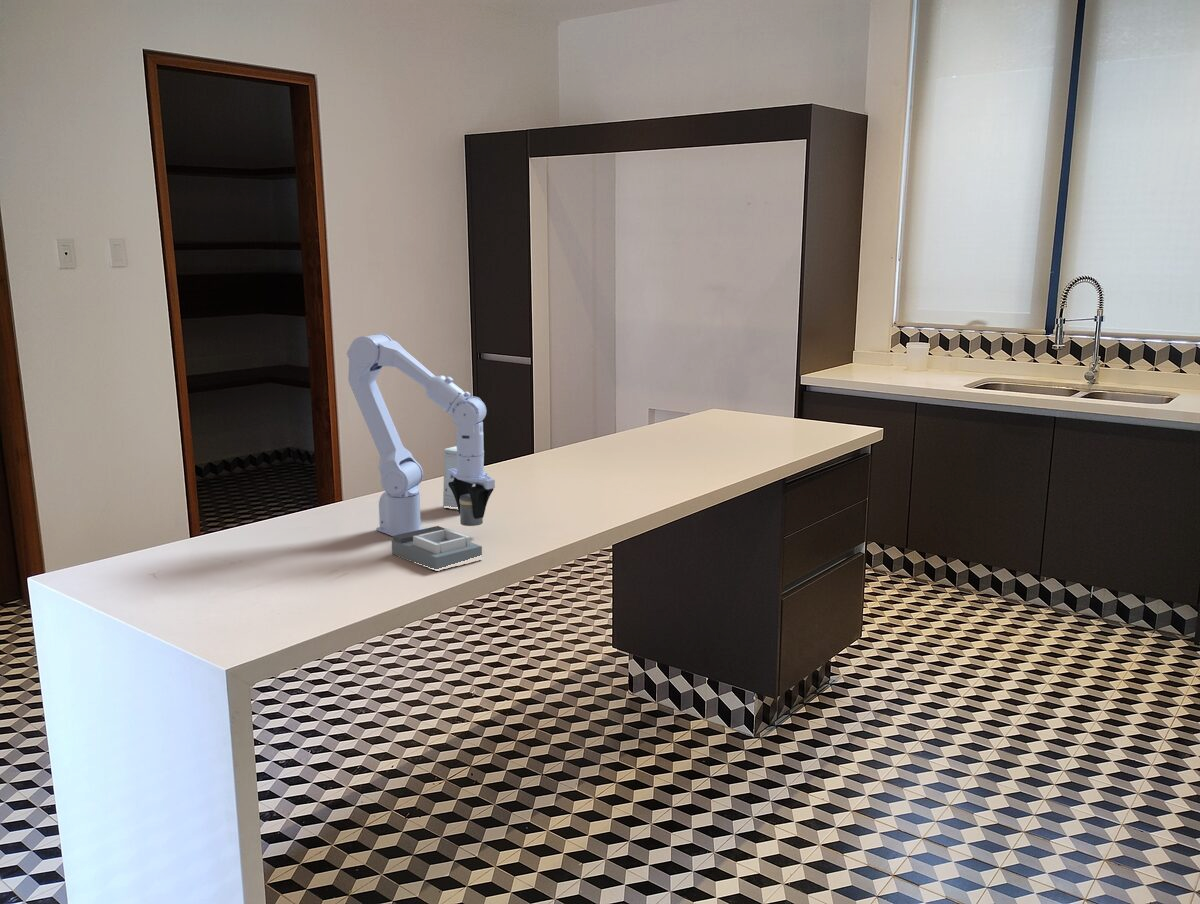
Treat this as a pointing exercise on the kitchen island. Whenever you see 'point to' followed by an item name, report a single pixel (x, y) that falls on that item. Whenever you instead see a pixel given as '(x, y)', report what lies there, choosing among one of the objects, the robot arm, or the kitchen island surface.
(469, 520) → the lens
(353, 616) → the kitchen island surface
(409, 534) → the camera body
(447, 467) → the skincare box
